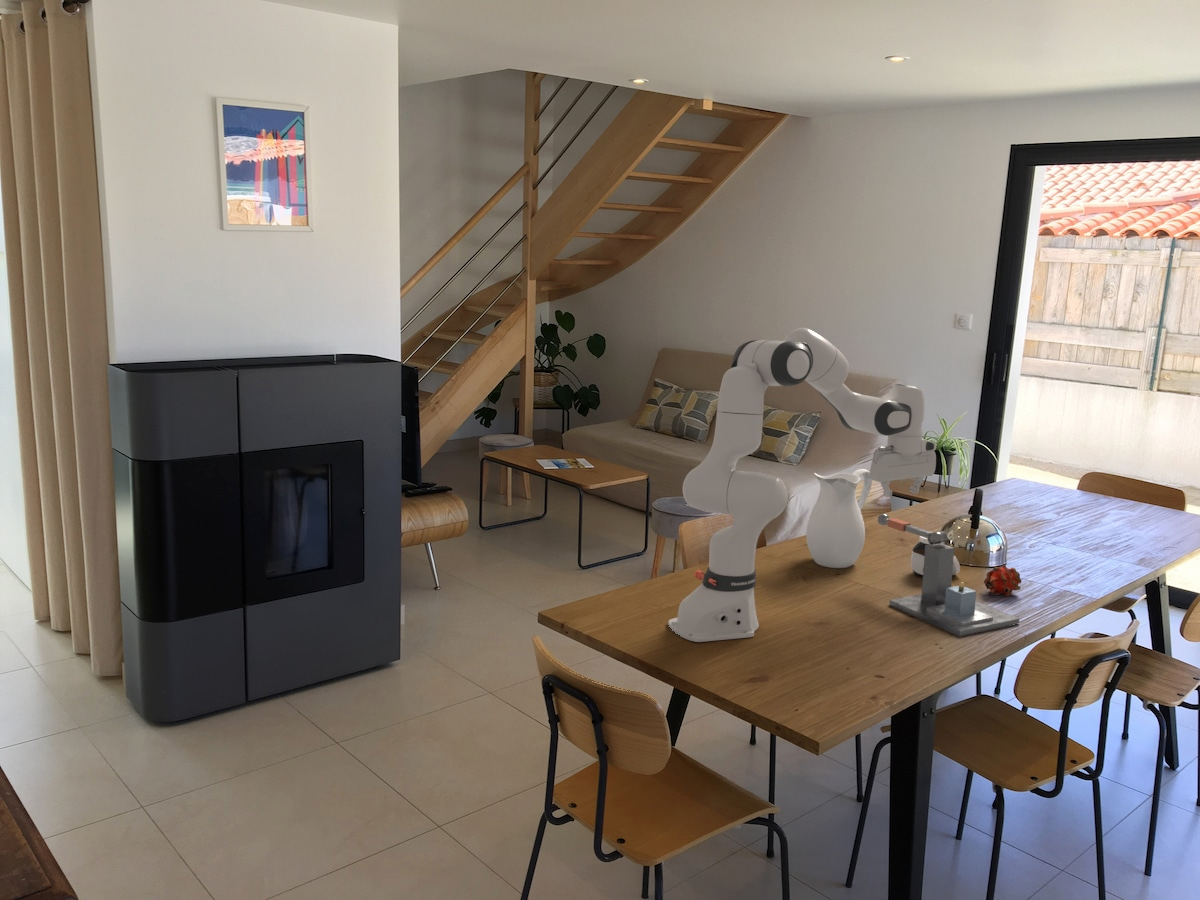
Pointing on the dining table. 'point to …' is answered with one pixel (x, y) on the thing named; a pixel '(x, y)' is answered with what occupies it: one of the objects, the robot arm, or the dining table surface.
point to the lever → (913, 529)
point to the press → (933, 598)
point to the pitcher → (838, 520)
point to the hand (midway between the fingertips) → (901, 494)
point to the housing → (960, 600)
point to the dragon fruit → (1002, 580)
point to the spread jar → (919, 555)
